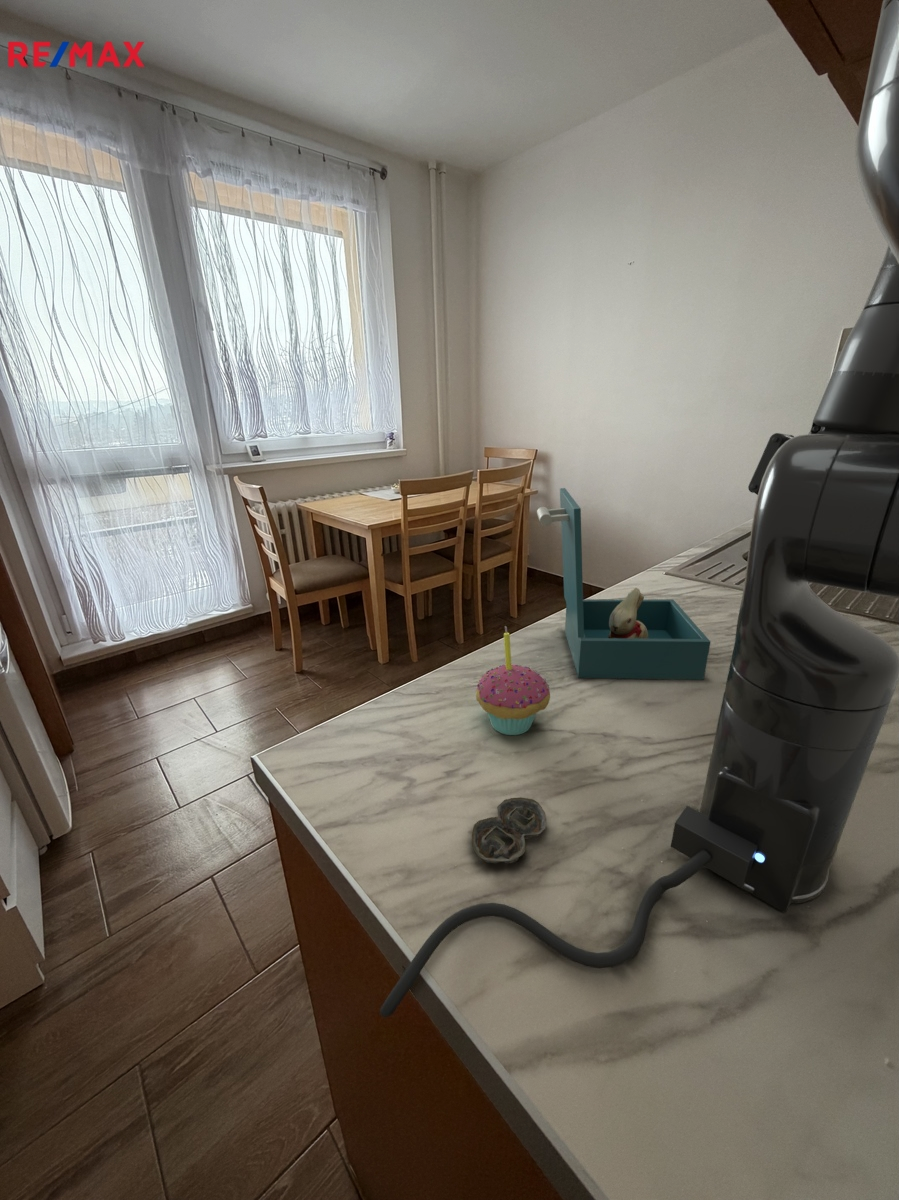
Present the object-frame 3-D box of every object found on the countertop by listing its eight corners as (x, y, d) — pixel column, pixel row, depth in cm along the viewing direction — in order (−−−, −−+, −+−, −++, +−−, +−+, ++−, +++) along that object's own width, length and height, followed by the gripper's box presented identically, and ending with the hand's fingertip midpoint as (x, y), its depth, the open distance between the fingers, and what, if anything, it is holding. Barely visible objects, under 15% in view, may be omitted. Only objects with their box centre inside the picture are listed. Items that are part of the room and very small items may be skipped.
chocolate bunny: (594, 644, 74) (599, 583, 70) (639, 636, 76) (647, 576, 72) (614, 661, 69) (620, 596, 65) (662, 653, 71) (671, 589, 67)
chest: (668, 632, 78) (673, 599, 76) (703, 679, 65) (710, 641, 63) (564, 631, 80) (566, 599, 78) (578, 677, 67) (580, 640, 64)
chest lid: (565, 487, 71) (533, 491, 72) (580, 508, 58) (541, 512, 58) (569, 596, 78) (540, 598, 78) (584, 637, 64) (549, 639, 65)
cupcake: (466, 711, 60) (463, 625, 56) (527, 696, 63) (529, 612, 58) (494, 754, 53) (494, 658, 48) (562, 735, 55) (568, 642, 51)
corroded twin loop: (558, 823, 44) (559, 815, 43) (503, 883, 39) (503, 873, 38) (514, 795, 47) (514, 787, 47) (458, 846, 42) (457, 838, 42)
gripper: (778, 364, 45) (716, 532, 51) (983, 371, 33) (869, 585, 40) (820, 375, 48) (757, 531, 55) (1017, 384, 37) (908, 579, 44)
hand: (804, 554), depth 47 cm, fingers open, 8 cm apart
